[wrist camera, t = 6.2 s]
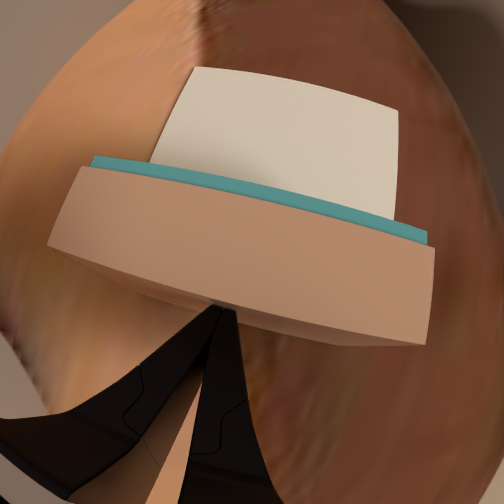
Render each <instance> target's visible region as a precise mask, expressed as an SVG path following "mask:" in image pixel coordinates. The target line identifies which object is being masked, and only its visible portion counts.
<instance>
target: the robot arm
mask: <svg viewBox="0 0 504 504" xmlns="http://www.w3.org/2000/svg"><path fill="white" fill-rule="evenodd" d="M139 365H140V366H139ZM139 365H137V366H136V367H135V368H134V369H133V370H131V371H130V372H129V373H128V374H126V375H125V376H124V377H122V378H121V379H120V380H118V381H117V382H115V383H114V384H112V385H111V386H109V387H108V388H106V389H105V390H103V391H101V392H100V393H98V394H97V395H95V396H93V397H92V398H90V399H88V400H87V401H85V402H83V403H82V404H80V405H78V406H77V407H75V408H73V409H71V410H69V411H66V412H63V413H60V414H54V415H47V416H39V417H30V418H19V419H2V418H0V504H145V503H146V501H147V498H148V496H149V494H150V492H151V490H152V488H153V486H154V484H155V482H156V480H157V477H158V475H159V473H160V471H161V469H162V467H163V465H164V463H165V460H166V458H167V456H168V454H169V452H170V450H171V448H172V445H173V443H174V441H175V439H176V437H177V435H178V433H179V431H180V428H181V426H182V424H183V422H184V420H185V418H186V415H187V413H188V411H189V409H190V407H191V405H192V403H193V400H194V398H195V396H196V394H197V392H198V390H199V387H200V385H201V383H202V387H201V392H200V397H199V402H198V407H197V413H196V418H195V423H194V428H193V434H192V439H191V445H190V450H189V456H188V461H187V466H186V471H185V476H184V480H183V484H182V488H181V492H180V496H179V500H178V504H284V503H283V502H282V500H281V499H280V497H279V495H278V494H277V492H276V490H275V488H274V486H273V484H272V482H271V479H270V477H269V474H268V472H267V469H266V466H265V463H264V460H263V457H262V454H261V451H260V448H259V444H258V441H257V438H256V434H255V431H254V427H253V423H252V417H251V412H250V406H249V400H248V393H247V386H246V379H245V372H244V365H243V357H242V350H241V343H240V335H239V327H238V320H237V312H236V311H235V310H232V309H228V308H224V309H223V307H221V306H217V305H213V304H212V305H210V306H208V307H207V308H206V309H205V310H204V311H202V312H201V313H200V314H199V315H198V316H197V317H195V318H194V319H193V320H192V321H191V322H189V323H188V324H187V325H186V326H185V327H183V328H182V329H181V330H180V331H179V332H177V333H176V334H175V335H174V336H173V337H171V338H170V339H169V340H168V341H167V342H165V343H164V344H163V345H162V346H161V347H159V348H158V349H157V350H156V351H155V352H153V353H152V354H151V355H150V356H148V357H147V358H146V359H145V360H144V361H142V362H141V363H140V364H139ZM202 381H203V382H202Z"/></svg>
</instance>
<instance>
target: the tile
mask: <svg viewBox="0 0 504 504" xmlns="http://www.w3.org/2000/svg"><path fill="white" fill-rule="evenodd" d="M47 246H49V247H50V248H52V249H54V250H56V251H57V252H59V253H61V254H63V255H65V256H66V257H68V258H70V259H72V260H74V261H76V262H77V263H79V264H81V265H83V266H85V267H87V268H89V269H91V270H93V271H94V272H96V273H98V274H100V275H102V276H104V277H106V278H108V279H110V280H112V281H114V282H116V283H118V284H120V285H122V286H124V287H126V288H128V289H131V290H133V291H135V292H137V293H140V294H143V295H146V296H149V297H152V298H155V299H158V300H161V301H164V302H168V303H171V304H174V305H178V306H181V307H184V308H188V309H191V310H194V311H198V312H202V311H204V310H205V309H206V308H207V307H208V306H210V305H212V304H213V305H217V306H221V307H223V309H224V308H228V309H232V310H235V311H236V312H237V320H238V323H242V324H245V325H249V326H253V327H257V328H261V329H265V330H270V331H274V332H278V333H282V334H287V335H291V336H295V337H300V338H305V339H309V340H314V341H319V342H323V343H328V344H333V345H341V346H407V345H425V342H426V336H427V330H428V323H429V315H430V307H431V298H432V287H433V274H434V255H435V248H433V247H429V246H427V231H424V230H421V229H418V228H415V227H412V226H409V225H406V224H403V223H400V222H397V221H394V220H391V219H387V218H384V217H381V216H378V215H374V214H371V213H368V212H364V211H361V210H357V209H354V208H350V207H347V206H343V205H340V204H336V203H333V202H329V201H325V200H321V199H318V198H314V197H310V196H306V195H302V194H298V193H294V192H290V191H286V190H282V189H278V188H274V187H269V186H265V185H261V184H256V183H252V182H247V181H243V180H238V179H233V178H229V177H224V176H219V175H214V174H209V173H204V172H199V171H193V170H188V169H182V168H177V167H171V166H165V165H159V164H153V163H147V162H140V161H134V160H127V159H120V158H112V157H105V156H97V155H95V157H94V159H93V161H92V163H91V165H90V167H87V166H81V168H80V170H79V172H78V174H77V176H76V178H75V180H74V182H73V184H72V186H71V188H70V190H69V192H68V194H67V197H66V199H65V201H64V203H63V205H62V208H61V210H60V212H59V215H58V217H57V219H56V222H55V224H54V227H53V229H52V232H51V234H50V237H49V239H48V242H47Z"/></svg>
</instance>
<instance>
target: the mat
mask: <svg viewBox="0 0 504 504" xmlns="http://www.w3.org/2000/svg"><path fill="white" fill-rule="evenodd" d="M149 163H153V164H159V165H165V166H171V167H177V168H182V169H188V170H193V171H199V172H204V173H209V174H214V175H219V176H224V177H229V178H233V179H238V180H243V181H247V182H252V183H256V184H261V185H265V186H269V187H274V188H278V189H282V190H286V191H290V192H294V193H298V194H302V195H306V196H310V197H314V198H318V199H321V200H325V201H329V202H333V203H336V204H340V205H343V206H347V207H350V208H354V209H357V210H361V211H364V212H368V213H371V214H374V215H378V216H381V217H384V218H387V219H391V220H394V210H395V198H396V184H397V165H398V111H397V110H394V109H392V108H389V107H386V106H383V105H381V104H378V103H375V102H372V101H369V100H366V99H363V98H359V97H356V96H353V95H350V94H346V93H343V92H339V91H336V90H332V89H328V88H325V87H321V86H317V85H312V84H308V83H304V82H299V81H295V80H290V79H285V78H280V77H275V76H269V75H263V74H257V73H250V72H243V71H236V70H227V69H218V68H207V67H195V68H194V70H193V72H192V74H191V76H190V77H189V79H188V81H187V83H186V85H185V87H184V89H183V91H182V93H181V95H180V97H179V98H178V100H177V102H176V104H175V106H174V109H173V111H172V113H171V115H170V117H169V119H168V121H167V123H166V125H165V127H164V130H163V132H162V134H161V136H160V139H159V141H158V143H157V145H156V148H155V150H154V152H153V155H152V157H151V159H150V162H149Z"/></svg>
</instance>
